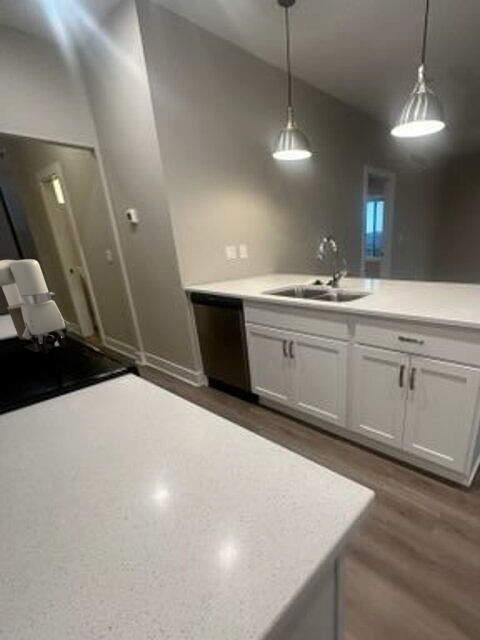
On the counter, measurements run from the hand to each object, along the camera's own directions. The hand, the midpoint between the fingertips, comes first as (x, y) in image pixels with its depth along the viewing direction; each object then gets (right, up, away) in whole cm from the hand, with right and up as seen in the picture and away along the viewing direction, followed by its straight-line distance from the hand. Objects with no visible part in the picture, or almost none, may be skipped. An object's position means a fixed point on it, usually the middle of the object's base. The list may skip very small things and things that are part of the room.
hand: (54, 350), depth 119 cm
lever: (-5, +6, +1) cm, 8 cm away
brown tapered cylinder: (-20, +5, +18) cm, 27 cm away
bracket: (-7, +1, +5) cm, 9 cm away
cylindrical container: (-28, +8, +26) cm, 39 cm away
